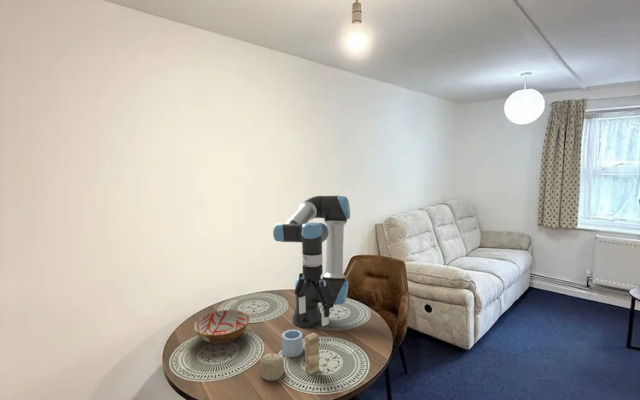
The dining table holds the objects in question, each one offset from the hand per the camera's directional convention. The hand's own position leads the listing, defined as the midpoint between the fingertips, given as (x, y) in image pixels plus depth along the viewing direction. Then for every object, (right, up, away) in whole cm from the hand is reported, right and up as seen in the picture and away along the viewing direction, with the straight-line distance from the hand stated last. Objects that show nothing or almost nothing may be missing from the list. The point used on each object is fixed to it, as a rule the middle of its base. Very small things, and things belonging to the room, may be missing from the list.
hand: (313, 318), depth 125 cm
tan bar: (0, -21, +2) cm, 21 cm away
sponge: (-16, -21, +1) cm, 27 cm away
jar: (-9, -20, +15) cm, 27 cm away
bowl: (-43, -19, +28) cm, 54 cm away
